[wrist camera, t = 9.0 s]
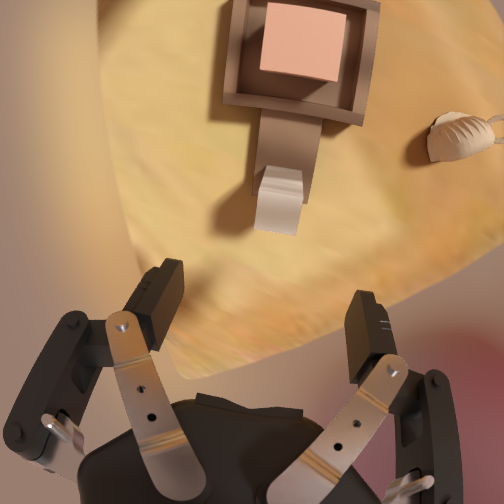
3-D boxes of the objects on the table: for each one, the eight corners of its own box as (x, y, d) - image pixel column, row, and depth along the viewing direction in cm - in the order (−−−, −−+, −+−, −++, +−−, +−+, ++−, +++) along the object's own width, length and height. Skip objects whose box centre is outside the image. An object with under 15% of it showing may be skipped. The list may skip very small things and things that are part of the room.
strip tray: (241, -12, 16) (222, -41, 11) (373, 9, 16) (400, -13, 10) (221, 185, 27) (199, 220, 21) (337, 204, 26) (349, 245, 20)
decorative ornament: (417, 122, 21) (443, 134, 17) (482, 102, 18) (514, 111, 14) (429, 162, 23) (454, 181, 18) (491, 140, 20) (521, 156, 15)
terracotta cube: (273, 17, 17) (268, 2, 13) (336, 27, 17) (346, 14, 13) (266, 72, 20) (259, 69, 16) (328, 82, 20) (337, 81, 16)
